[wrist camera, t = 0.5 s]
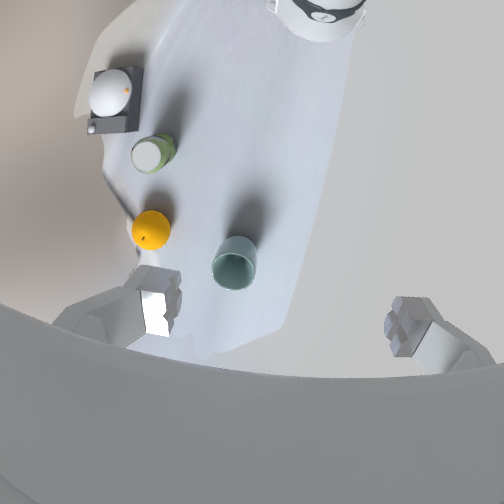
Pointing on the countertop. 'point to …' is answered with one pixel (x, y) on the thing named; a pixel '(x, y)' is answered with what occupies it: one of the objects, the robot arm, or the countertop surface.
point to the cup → (235, 263)
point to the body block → (115, 101)
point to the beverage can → (153, 153)
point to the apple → (151, 230)
